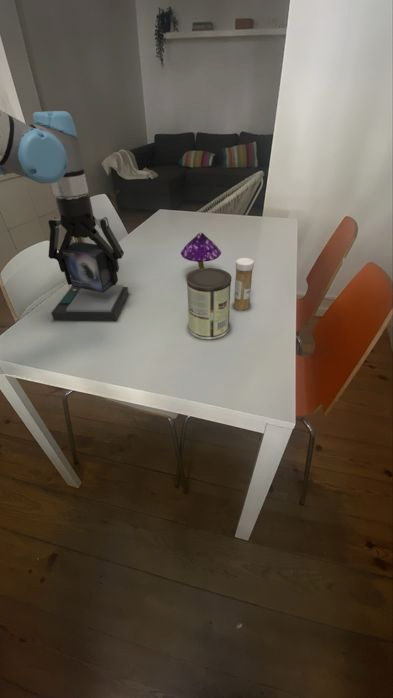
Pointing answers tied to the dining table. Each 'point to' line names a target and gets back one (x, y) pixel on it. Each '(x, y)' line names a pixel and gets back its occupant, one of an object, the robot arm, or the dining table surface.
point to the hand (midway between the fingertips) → (93, 282)
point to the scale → (91, 304)
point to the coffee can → (208, 302)
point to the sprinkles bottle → (243, 283)
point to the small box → (87, 266)
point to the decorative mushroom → (200, 250)
